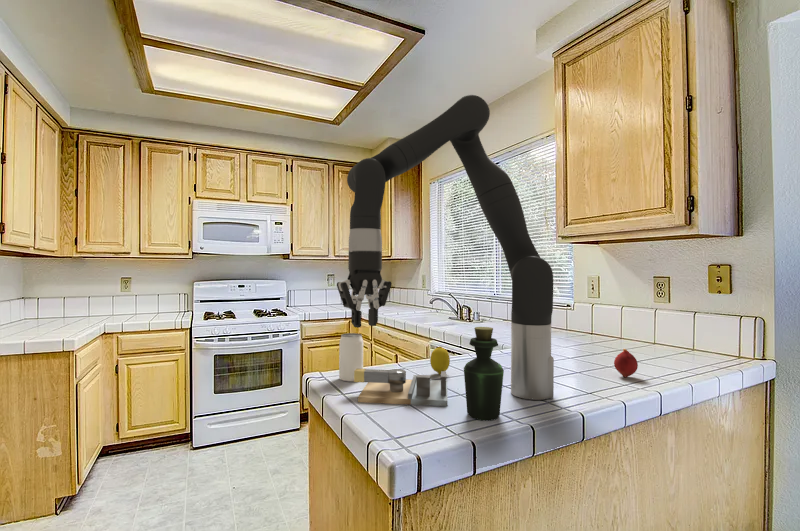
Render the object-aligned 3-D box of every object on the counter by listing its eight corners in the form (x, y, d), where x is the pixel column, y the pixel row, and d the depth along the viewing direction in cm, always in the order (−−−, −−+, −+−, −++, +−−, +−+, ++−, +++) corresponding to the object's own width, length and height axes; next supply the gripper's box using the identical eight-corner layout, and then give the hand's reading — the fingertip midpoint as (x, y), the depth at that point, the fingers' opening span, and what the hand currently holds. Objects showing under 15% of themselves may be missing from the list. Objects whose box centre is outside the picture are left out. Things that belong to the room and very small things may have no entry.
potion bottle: (512, 417, 84) (512, 329, 84) (482, 425, 80) (483, 332, 80) (483, 406, 91) (484, 324, 91) (455, 413, 86) (455, 327, 86)
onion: (638, 376, 117) (638, 348, 117) (637, 381, 112) (637, 351, 112) (615, 373, 120) (615, 346, 120) (613, 377, 115) (613, 349, 115)
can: (358, 382, 109) (359, 337, 109) (335, 381, 110) (336, 336, 110) (365, 376, 115) (366, 333, 115) (343, 375, 116) (344, 332, 116)
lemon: (428, 372, 120) (429, 344, 120) (447, 371, 121) (447, 344, 121) (431, 377, 115) (432, 348, 115) (451, 376, 115) (451, 348, 115)
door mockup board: (447, 385, 107) (447, 364, 107) (447, 406, 91) (447, 381, 91) (370, 382, 109) (371, 361, 109) (358, 402, 93) (358, 377, 93)
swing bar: (406, 380, 100) (406, 369, 100) (404, 385, 96) (404, 373, 96) (357, 378, 101) (357, 367, 101) (353, 383, 97) (353, 372, 97)
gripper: (380, 251, 100) (380, 322, 100) (329, 249, 91) (328, 327, 91) (400, 250, 94) (399, 325, 94) (347, 248, 86) (346, 331, 85)
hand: (364, 325), depth 93 cm, fingers open, 3 cm apart
